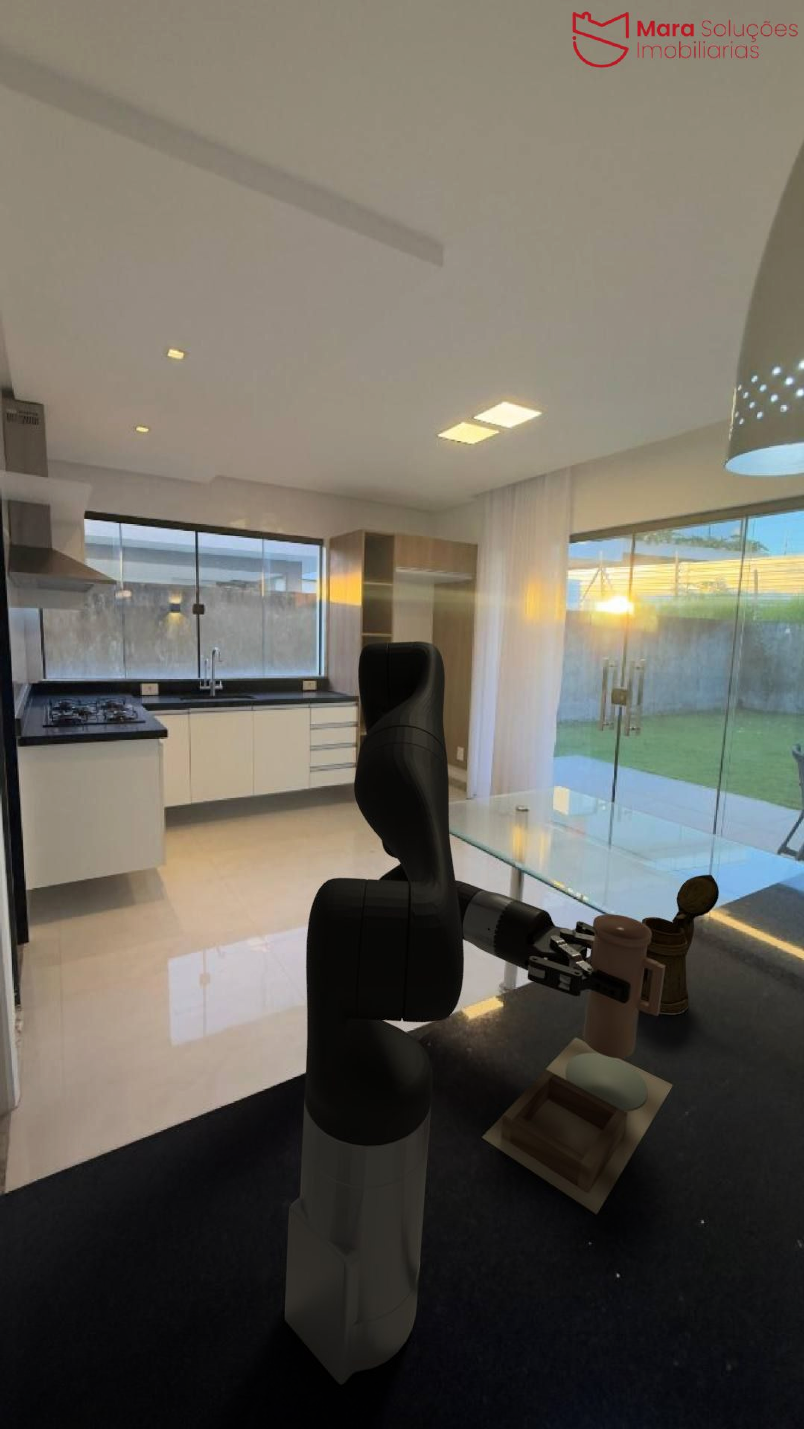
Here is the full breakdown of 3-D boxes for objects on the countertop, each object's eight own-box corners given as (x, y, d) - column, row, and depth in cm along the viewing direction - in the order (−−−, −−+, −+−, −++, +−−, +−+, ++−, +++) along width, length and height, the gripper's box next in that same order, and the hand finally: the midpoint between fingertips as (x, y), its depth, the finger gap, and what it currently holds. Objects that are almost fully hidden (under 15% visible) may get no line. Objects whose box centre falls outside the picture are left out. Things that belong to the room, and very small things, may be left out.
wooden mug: (724, 1002, 90) (739, 886, 88) (656, 1021, 84) (671, 897, 82) (674, 971, 98) (687, 864, 96) (610, 987, 92) (622, 873, 90)
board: (595, 1223, 54) (599, 1188, 54) (481, 1146, 62) (483, 1114, 61) (672, 1092, 71) (675, 1065, 70) (574, 1044, 78) (577, 1019, 78)
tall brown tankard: (641, 1076, 65) (657, 953, 63) (571, 1041, 70) (584, 926, 68) (660, 1048, 70) (676, 933, 68) (593, 1017, 75) (606, 909, 73)
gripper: (478, 918, 72) (619, 976, 62) (536, 884, 83) (664, 929, 73) (473, 977, 73) (611, 1044, 63) (531, 936, 84) (656, 987, 74)
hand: (638, 982), depth 68 cm, fingers closed on tall brown tankard, 5 cm apart
